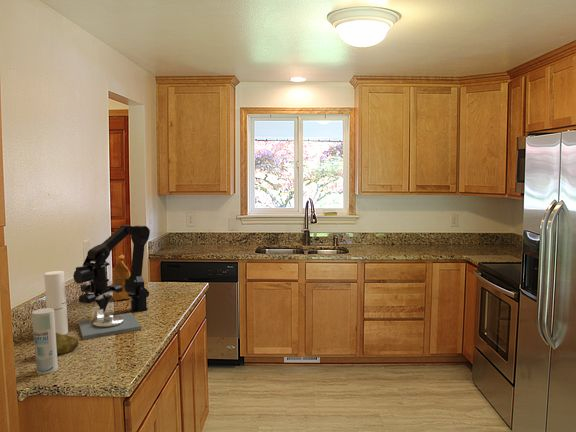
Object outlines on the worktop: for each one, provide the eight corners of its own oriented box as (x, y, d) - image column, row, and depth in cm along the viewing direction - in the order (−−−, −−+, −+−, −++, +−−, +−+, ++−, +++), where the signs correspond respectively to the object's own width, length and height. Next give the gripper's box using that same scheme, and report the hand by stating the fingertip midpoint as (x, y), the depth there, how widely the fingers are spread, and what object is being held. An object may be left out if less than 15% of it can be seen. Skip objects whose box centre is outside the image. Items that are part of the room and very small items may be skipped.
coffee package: (134, 294, 254) (132, 253, 252) (132, 300, 242) (129, 257, 240) (114, 295, 252) (112, 254, 250) (111, 301, 240) (108, 258, 238)
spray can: (61, 365, 161) (57, 307, 159) (52, 373, 155) (48, 313, 153) (42, 366, 161) (37, 308, 159) (32, 374, 154) (27, 314, 153)
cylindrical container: (72, 331, 197) (67, 271, 194) (58, 336, 190) (54, 275, 188) (58, 329, 199) (54, 270, 197) (44, 335, 192) (39, 274, 190)
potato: (75, 355, 170) (74, 333, 170) (36, 359, 167) (34, 337, 167) (80, 346, 178) (78, 325, 178) (42, 350, 175) (40, 329, 175)
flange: (95, 317, 208) (94, 307, 207) (129, 318, 206) (128, 307, 206) (79, 327, 196) (79, 316, 195) (115, 327, 194) (115, 316, 193)
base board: (131, 315, 215) (130, 302, 215) (141, 329, 196) (140, 315, 195) (78, 324, 205) (77, 310, 205) (83, 339, 186) (82, 324, 185)
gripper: (103, 270, 217) (107, 304, 219) (67, 281, 201) (72, 317, 203) (121, 272, 212) (124, 306, 214) (86, 284, 196) (90, 320, 198)
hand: (103, 312), depth 208 cm, fingers closed
